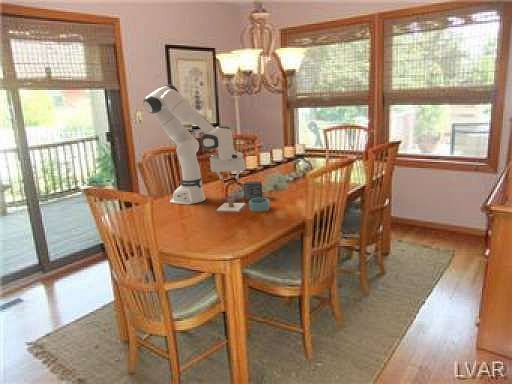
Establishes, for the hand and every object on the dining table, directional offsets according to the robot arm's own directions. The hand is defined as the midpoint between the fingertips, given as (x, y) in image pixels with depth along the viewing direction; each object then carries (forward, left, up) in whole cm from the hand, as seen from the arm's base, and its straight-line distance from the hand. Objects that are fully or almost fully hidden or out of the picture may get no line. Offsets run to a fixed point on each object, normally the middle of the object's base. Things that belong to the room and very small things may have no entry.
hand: (229, 178), depth 224 cm
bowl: (+17, 0, -18) cm, 24 cm away
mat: (0, 0, -18) cm, 18 cm away
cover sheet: (0, 0, -17) cm, 17 cm away
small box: (+8, +19, -18) cm, 27 cm away
